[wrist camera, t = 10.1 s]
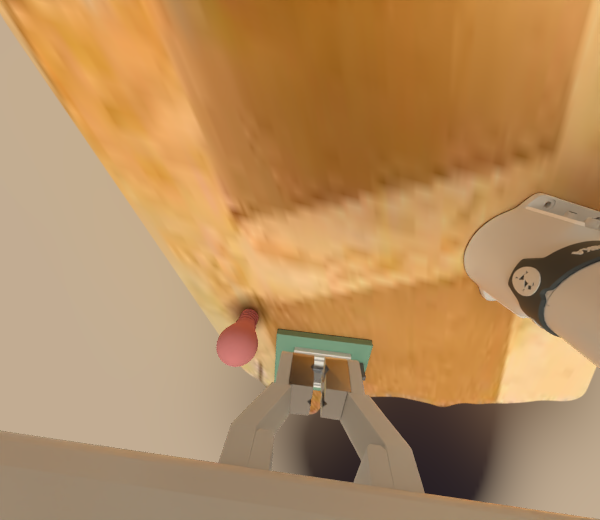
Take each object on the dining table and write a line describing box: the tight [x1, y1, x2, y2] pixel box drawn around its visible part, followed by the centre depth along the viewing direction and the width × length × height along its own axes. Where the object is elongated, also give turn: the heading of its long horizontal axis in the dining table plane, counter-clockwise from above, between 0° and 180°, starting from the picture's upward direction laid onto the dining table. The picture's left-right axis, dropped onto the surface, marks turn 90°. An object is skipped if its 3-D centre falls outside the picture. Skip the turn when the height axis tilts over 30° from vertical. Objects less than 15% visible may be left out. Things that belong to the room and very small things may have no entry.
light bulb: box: [217, 309, 258, 367], centre depth 44 cm, size 7×7×12 cm
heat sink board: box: [274, 329, 373, 391], centre depth 52 cm, size 20×16×5 cm
